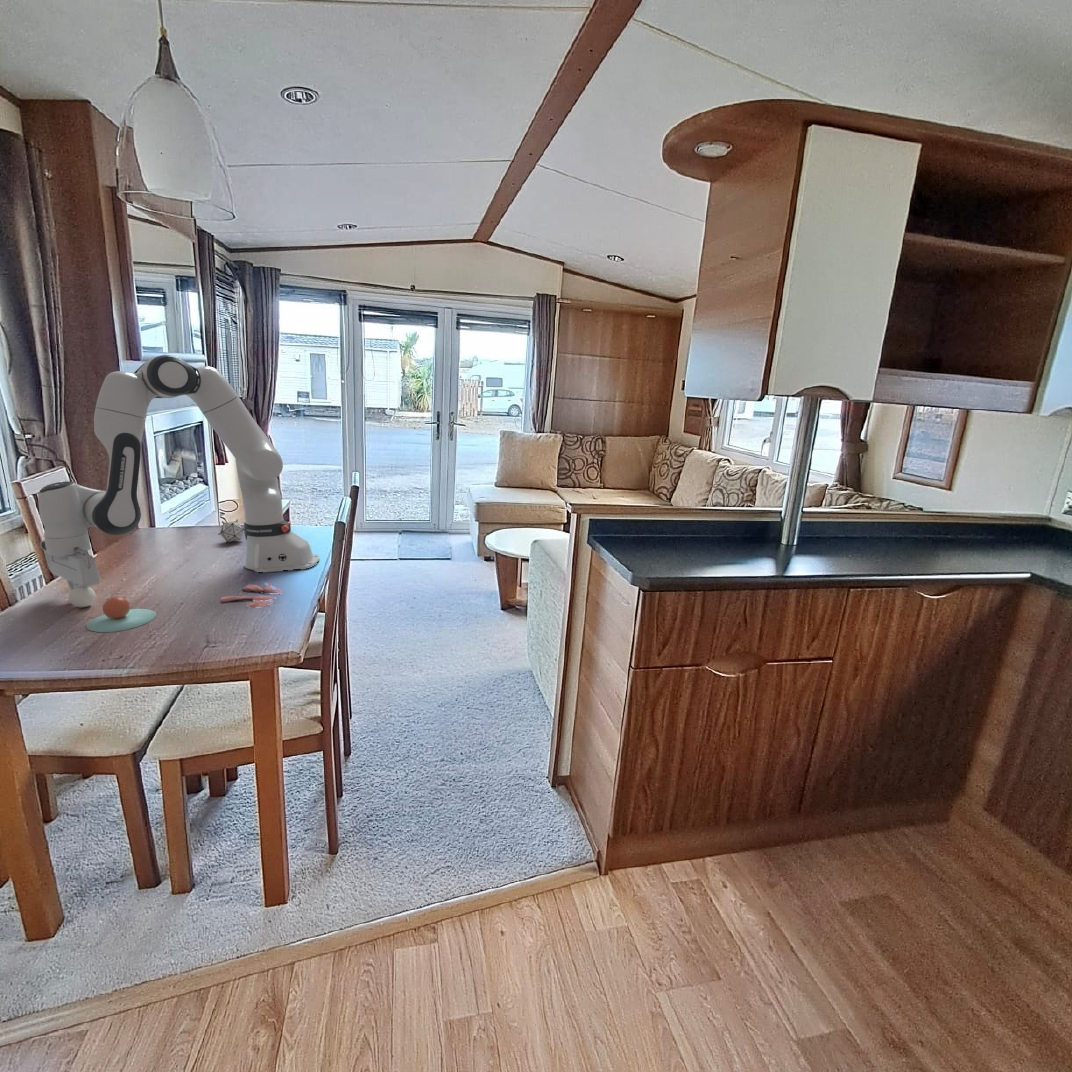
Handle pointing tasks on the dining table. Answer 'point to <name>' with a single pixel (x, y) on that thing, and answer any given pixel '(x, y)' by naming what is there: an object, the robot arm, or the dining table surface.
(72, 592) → the white egg
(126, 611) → the brown egg
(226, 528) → the game die
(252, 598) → the pinkish brown flat pieces
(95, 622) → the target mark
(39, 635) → the dining table surface
